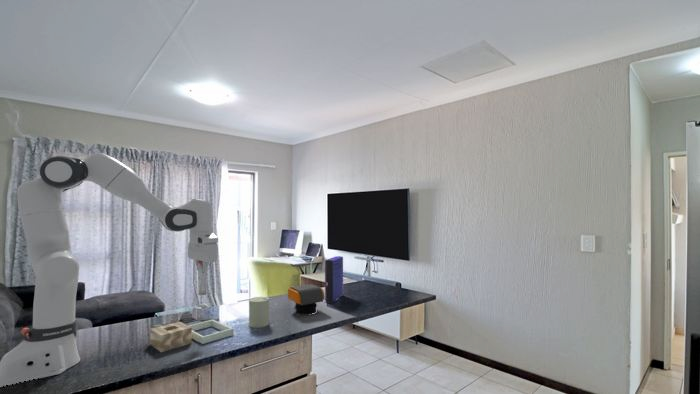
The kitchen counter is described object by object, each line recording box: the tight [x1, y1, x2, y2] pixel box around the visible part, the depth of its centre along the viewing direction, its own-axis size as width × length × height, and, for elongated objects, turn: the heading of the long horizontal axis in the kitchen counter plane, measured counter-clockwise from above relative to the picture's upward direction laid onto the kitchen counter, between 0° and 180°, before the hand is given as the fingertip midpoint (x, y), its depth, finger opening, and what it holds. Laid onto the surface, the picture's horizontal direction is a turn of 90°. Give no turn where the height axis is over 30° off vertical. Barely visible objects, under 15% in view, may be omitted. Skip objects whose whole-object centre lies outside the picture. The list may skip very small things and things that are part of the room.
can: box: [248, 296, 270, 329], centre depth 157 cm, size 9×9×12 cm
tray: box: [188, 320, 234, 345], centre depth 142 cm, size 13×18×4 cm
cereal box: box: [324, 255, 344, 303], centre depth 202 cm, size 17×5×24 cm, turn 161°
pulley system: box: [153, 311, 220, 328], centre depth 160 cm, size 27×5×15 cm
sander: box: [287, 283, 325, 316], centre depth 180 cm, size 15×25×13 cm, turn 34°
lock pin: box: [197, 261, 208, 296], centre depth 141 cm, size 3×3×14 cm
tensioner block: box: [149, 321, 193, 353], centre depth 132 cm, size 11×11×7 cm
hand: (202, 271), depth 141 cm, fingers closed on lock pin, 3 cm apart
